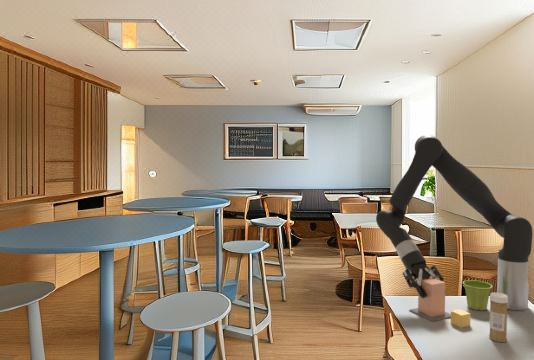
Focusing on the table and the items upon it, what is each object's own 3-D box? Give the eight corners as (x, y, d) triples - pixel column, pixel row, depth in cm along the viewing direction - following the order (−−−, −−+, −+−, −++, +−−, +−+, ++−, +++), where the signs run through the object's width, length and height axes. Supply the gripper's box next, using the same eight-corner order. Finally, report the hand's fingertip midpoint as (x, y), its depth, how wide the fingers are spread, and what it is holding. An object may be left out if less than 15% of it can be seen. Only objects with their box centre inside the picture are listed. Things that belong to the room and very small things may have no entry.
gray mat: (430, 306, 138) (430, 305, 138) (454, 316, 129) (454, 315, 129) (409, 310, 134) (409, 309, 134) (432, 321, 125) (432, 320, 125)
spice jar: (509, 340, 112) (511, 295, 111) (502, 344, 109) (503, 298, 109) (493, 334, 116) (494, 290, 115) (485, 338, 113) (486, 293, 113)
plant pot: (482, 314, 131) (482, 289, 131) (456, 305, 139) (457, 282, 139) (497, 309, 136) (498, 285, 135) (471, 301, 144) (472, 278, 144)
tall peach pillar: (430, 308, 135) (431, 277, 135) (444, 314, 130) (445, 282, 129) (418, 310, 133) (418, 279, 133) (431, 316, 127) (432, 284, 127)
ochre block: (459, 321, 126) (459, 309, 125) (470, 325, 122) (470, 313, 122) (450, 323, 124) (451, 310, 124) (461, 327, 120) (461, 315, 120)
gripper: (400, 251, 135) (425, 293, 125) (430, 247, 140) (456, 287, 130) (389, 262, 140) (412, 303, 130) (419, 258, 146) (443, 297, 135)
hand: (434, 295), depth 130 cm, fingers open, 8 cm apart
